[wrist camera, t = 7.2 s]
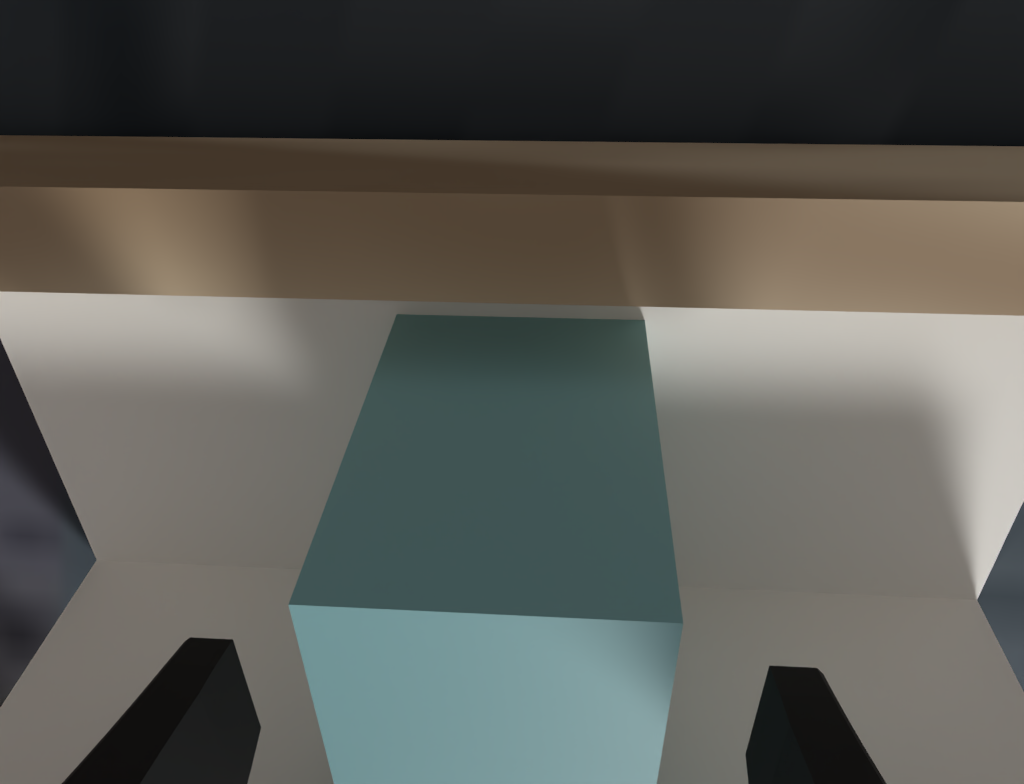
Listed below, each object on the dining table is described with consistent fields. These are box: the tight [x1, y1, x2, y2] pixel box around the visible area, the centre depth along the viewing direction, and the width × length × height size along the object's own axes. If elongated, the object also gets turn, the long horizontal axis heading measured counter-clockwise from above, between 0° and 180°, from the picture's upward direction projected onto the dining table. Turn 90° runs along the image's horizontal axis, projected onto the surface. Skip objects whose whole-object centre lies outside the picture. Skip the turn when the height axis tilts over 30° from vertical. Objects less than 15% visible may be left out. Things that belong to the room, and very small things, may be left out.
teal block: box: [288, 314, 683, 784], centre depth 12 cm, size 6×4×6 cm, turn 1°
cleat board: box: [0, 135, 1024, 784], centre depth 13 cm, size 11×18×6 cm, turn 91°
